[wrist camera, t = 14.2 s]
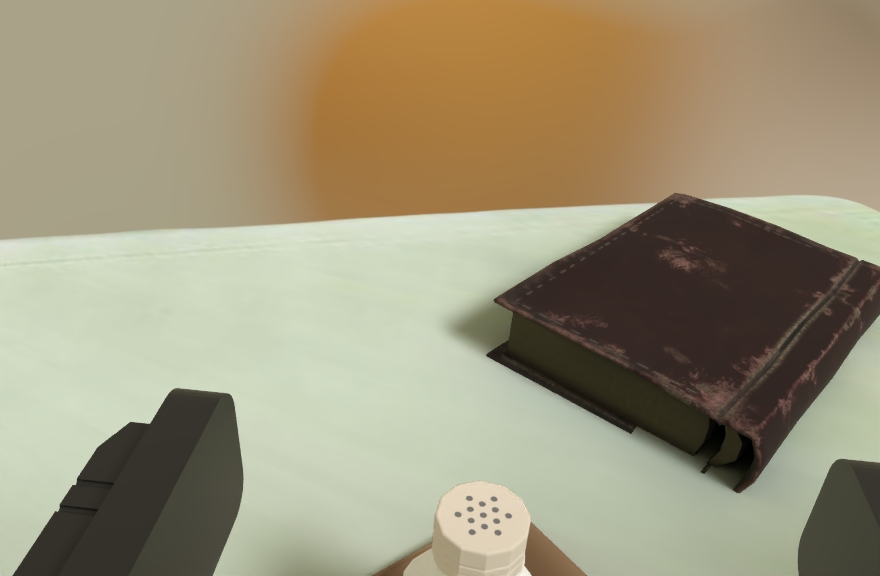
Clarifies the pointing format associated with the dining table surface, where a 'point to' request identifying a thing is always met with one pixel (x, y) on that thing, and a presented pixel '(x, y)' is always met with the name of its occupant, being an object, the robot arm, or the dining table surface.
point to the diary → (693, 327)
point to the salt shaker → (476, 534)
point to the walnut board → (541, 558)
